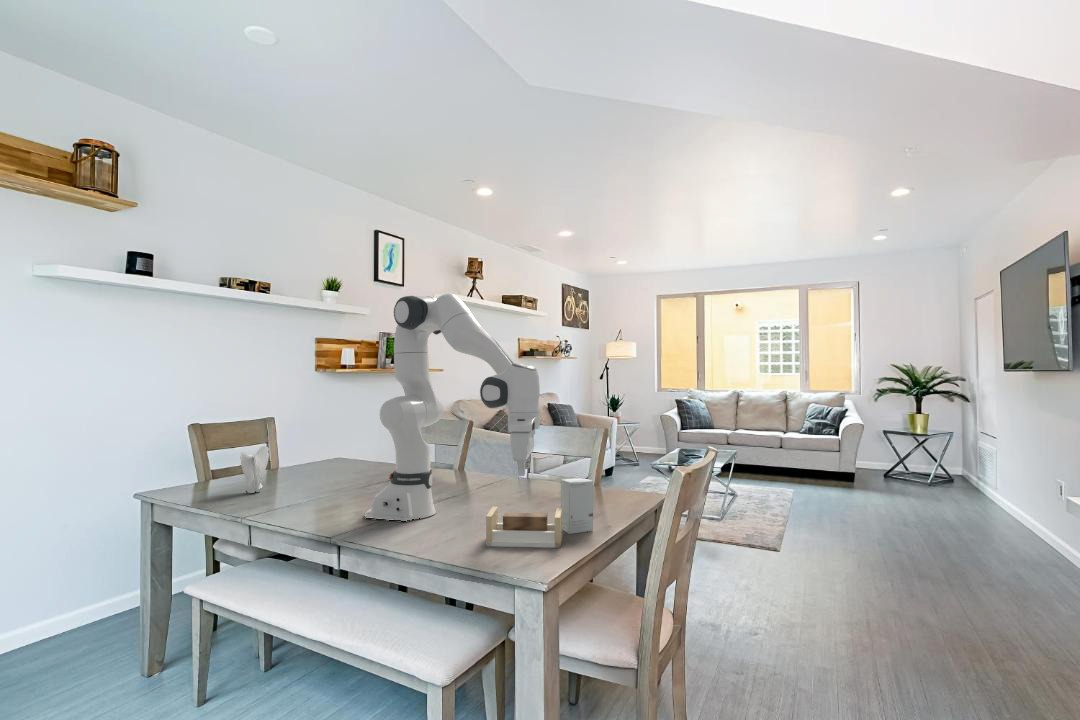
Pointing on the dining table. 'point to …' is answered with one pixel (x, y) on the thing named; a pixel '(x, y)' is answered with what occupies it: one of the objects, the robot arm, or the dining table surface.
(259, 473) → the shell sculpture
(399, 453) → the robot arm
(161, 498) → the dining table surface
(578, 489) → the skincare box
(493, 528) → the track
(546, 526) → the brown wooden block
